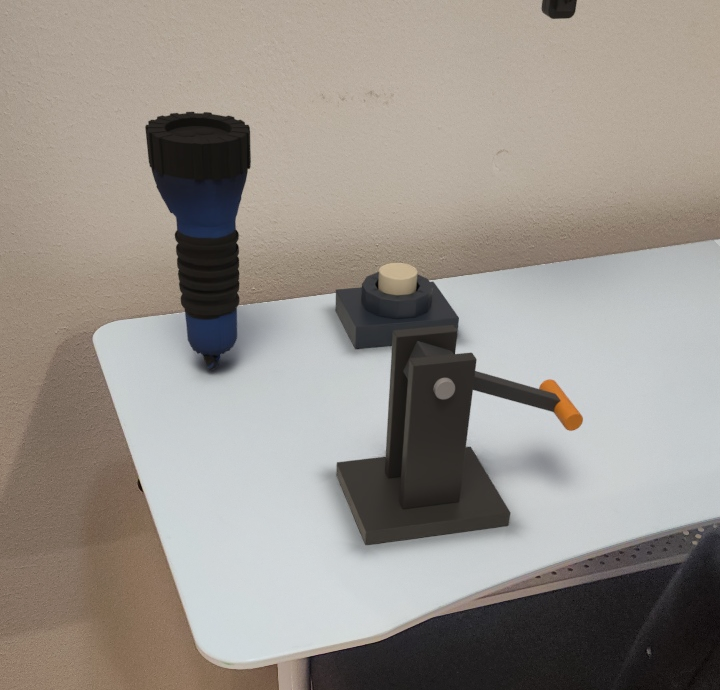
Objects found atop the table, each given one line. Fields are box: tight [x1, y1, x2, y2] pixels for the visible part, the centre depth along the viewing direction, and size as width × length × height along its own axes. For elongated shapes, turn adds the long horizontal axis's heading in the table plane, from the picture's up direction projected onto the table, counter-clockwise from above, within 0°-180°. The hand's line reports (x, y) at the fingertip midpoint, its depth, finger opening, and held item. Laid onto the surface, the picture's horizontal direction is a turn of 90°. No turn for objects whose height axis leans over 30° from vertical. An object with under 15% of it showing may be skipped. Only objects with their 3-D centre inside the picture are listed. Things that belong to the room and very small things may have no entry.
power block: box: [335, 271, 460, 350], centre depth 95 cm, size 10×8×4 cm
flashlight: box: [144, 111, 252, 370], centre depth 83 cm, size 8×8×20 cm
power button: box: [378, 262, 418, 295], centre depth 93 cm, size 4×4×2 cm
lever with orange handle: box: [403, 341, 584, 432], centre depth 71 cm, size 13×5×2 cm, turn 105°
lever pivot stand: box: [336, 325, 511, 546], centre depth 72 cm, size 11×9×13 cm
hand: (557, 15), depth 77 cm, fingers closed
